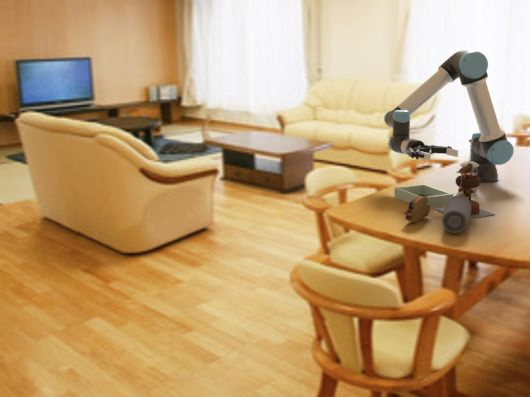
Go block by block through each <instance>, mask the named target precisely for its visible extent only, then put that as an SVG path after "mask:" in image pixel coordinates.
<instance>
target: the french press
mask: <svg viewBox="0 0 530 397" xmlns="http://www.w3.org/2000/svg"><path fill="white" fill-rule="evenodd" d="M471 142H473V140H472V138H471V139H469V140H468V143H469V145H470V146H469V148H470V149H469V152H471ZM468 163H471V164H472V165H473V168H474V169H472V170H473V172H472V175H473V176H477V173H474V170H475V167H479V164H477V163H476V162H473V161H470V158H469V160H467V161H462V162H461V163H459V166H460V167H461V168H462V167H464V166H467V164H468ZM476 170H477V168H476ZM459 174H460V176H461V175H464V173H459ZM465 174H466V173H465ZM467 174H468V175H470V174H471V172H468V173H467ZM459 188H462V187H459V186H458V189H459ZM472 190H473V191H474V193H472V194H471V199H474V198H475V199H476V198H478V197H480V194H478V187H477V188H472ZM461 194H463V191H462V192H461ZM456 195H460V192H457V193H456V194H455V196H456Z"/></svg>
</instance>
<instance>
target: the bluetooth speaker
mask: <svg viewBox="0 0 530 397" xmlns="http://www.w3.org/2000/svg"><path fill="white" fill-rule="evenodd" d="M445 207H446V208H445ZM445 207H444V208H445V209H444V213H442V219H441V222H442V226H443V228H444V229H445V230H446V231H447V232H449V233H455V234H457V233H461V232H462V231H464V230H465V228H466V227H467V226H468V223H469V221H470V220H471V219H470V216H471V202H470V200H469V199H468V198H467V197H466V196H463V195H456V194H455V195H453V197H452V198H451V199H450V200H449V202H448V204H447V205H445Z"/></svg>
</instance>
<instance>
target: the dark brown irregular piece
mask: <svg viewBox="0 0 530 397" xmlns="http://www.w3.org/2000/svg"><path fill="white" fill-rule="evenodd" d="M472 168H473V165H472V164H471V163H468V164H467V166H464V167H462V166H461V168H459V170H458V171H456V172H455V173H457V174H460V173H464V175H461V174H460V175H458V176H456V178H455V184H456V186H458V189H457V190H458V192H460V195H463V196H466V197H467V198H468V199H469V200H470V202H471V215H477V214H479V211H480V209H481V204H480V203H479V202H477V201H476V200H472V198H471V194H472V193H474V191H473V190H472V188H477V189H478V187H480V186H481V184H482V182H481V180H480V178H479V177H477V176H473V175H472V173H471V174H470V175H468V174H467V173H468V172H470V171H471V170H472ZM465 173H466V174H465ZM459 187H462V188H459ZM462 191H463V194H461V192H462ZM458 192H457V193H458Z"/></svg>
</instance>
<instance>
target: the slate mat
mask: <svg viewBox="0 0 530 397" xmlns="http://www.w3.org/2000/svg"><path fill="white" fill-rule="evenodd" d="M445 208H446V206H445V207H439V208H438V207H437V208H435V209H434V210H435V211H437V212H439V213H442V214H443V213H444V209H445ZM492 216H495V213H494V212H490V211H487V210H485V209H482V208H480V211H479V214H477V215H471V216H470V220H473V219H478V218H484V217H485V218H486V217H492Z"/></svg>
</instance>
